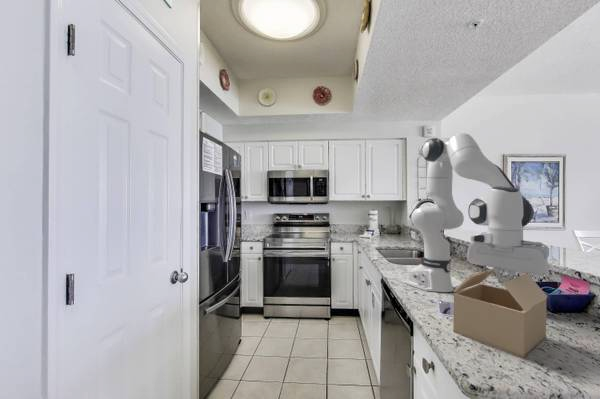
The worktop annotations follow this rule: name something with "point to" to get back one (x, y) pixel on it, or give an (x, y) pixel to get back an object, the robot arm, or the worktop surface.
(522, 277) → the flap
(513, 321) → the carton
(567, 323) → the worktop surface
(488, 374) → the worktop surface
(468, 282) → the flap
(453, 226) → the robot arm
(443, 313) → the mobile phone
